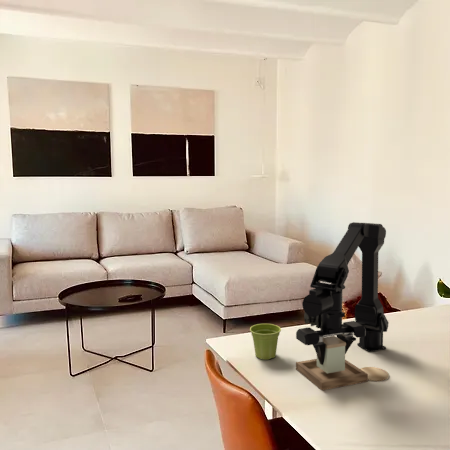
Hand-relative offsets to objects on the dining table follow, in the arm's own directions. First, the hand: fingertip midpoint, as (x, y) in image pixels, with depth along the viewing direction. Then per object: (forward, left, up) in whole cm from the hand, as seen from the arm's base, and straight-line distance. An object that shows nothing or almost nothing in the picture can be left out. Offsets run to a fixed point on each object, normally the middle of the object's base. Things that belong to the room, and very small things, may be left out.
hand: (330, 362), depth 132 cm
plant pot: (+11, -19, -4) cm, 22 cm away
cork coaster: (-11, +4, -4) cm, 12 cm away
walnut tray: (0, 0, -4) cm, 4 cm away
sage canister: (0, 0, -2) cm, 2 cm away
